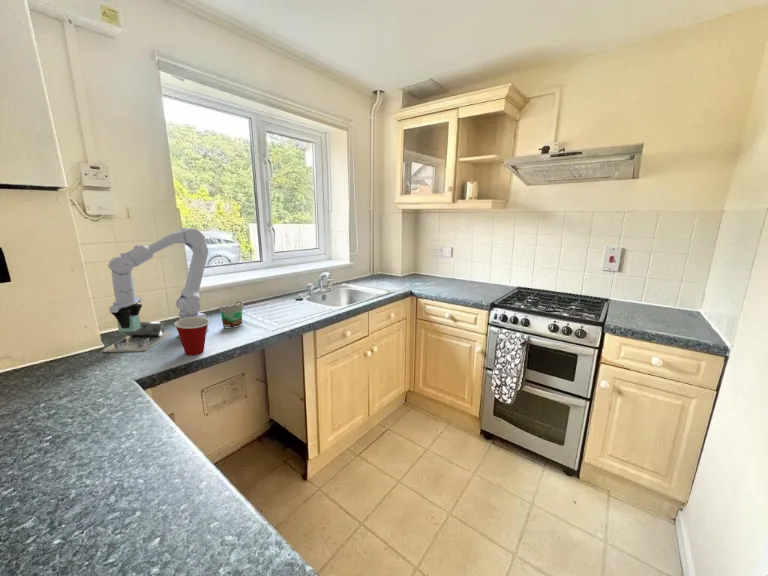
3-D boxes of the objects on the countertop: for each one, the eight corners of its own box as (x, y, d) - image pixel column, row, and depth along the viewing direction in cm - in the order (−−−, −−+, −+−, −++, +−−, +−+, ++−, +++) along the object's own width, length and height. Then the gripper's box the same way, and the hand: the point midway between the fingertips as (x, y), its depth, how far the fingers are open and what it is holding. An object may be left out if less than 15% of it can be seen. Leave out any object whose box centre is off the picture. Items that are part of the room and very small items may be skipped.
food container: (233, 330, 139) (231, 308, 137) (221, 329, 140) (219, 307, 138) (250, 321, 151) (249, 301, 149) (238, 320, 152) (237, 300, 150)
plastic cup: (200, 359, 110) (197, 326, 108) (170, 358, 111) (166, 325, 108) (218, 347, 121) (215, 317, 118) (190, 346, 121) (187, 316, 119)
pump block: (140, 327, 120) (138, 315, 119) (133, 331, 116) (132, 318, 115) (126, 328, 119) (124, 315, 118) (118, 331, 115) (116, 318, 114)
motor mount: (169, 334, 132) (167, 319, 130) (145, 351, 116) (143, 333, 114) (132, 335, 130) (130, 320, 128) (103, 352, 114) (100, 334, 112)
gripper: (125, 286, 121) (130, 319, 124) (97, 294, 107) (103, 332, 110) (145, 286, 122) (150, 319, 125) (119, 294, 108) (125, 332, 111)
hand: (129, 325), depth 117 cm, fingers closed on pump block, 4 cm apart
